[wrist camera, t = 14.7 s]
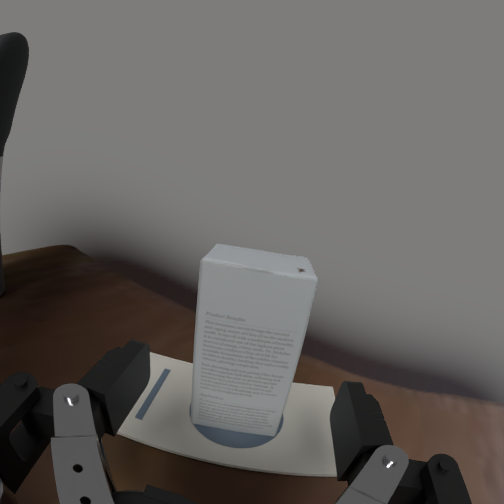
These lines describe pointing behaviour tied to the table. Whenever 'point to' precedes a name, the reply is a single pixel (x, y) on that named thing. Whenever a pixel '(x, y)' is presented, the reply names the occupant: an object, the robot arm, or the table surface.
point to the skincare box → (248, 336)
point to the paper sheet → (231, 442)
